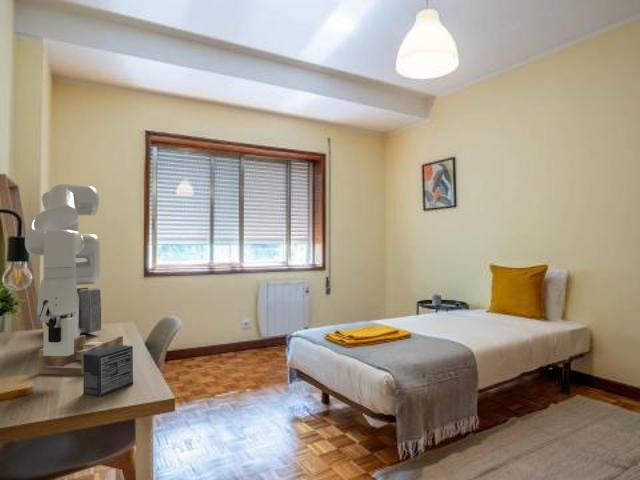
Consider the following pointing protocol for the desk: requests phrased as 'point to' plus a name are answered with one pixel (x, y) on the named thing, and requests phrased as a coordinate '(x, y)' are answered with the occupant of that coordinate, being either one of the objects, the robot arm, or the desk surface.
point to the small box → (107, 370)
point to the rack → (71, 357)
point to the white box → (67, 339)
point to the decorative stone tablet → (89, 309)
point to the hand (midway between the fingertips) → (58, 340)
